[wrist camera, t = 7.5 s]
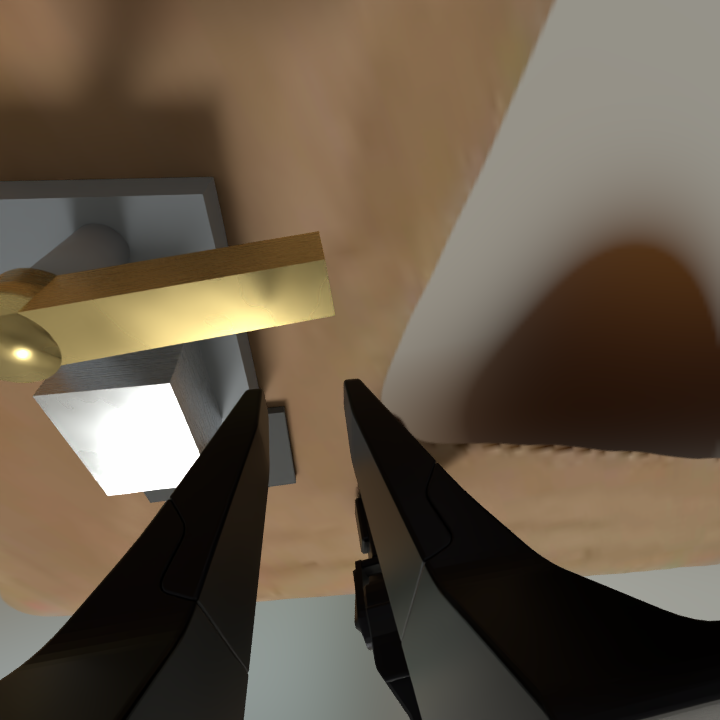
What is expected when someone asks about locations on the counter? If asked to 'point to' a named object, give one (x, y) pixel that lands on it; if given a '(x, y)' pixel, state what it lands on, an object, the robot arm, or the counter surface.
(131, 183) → the body
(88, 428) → the lever cap
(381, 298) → the counter surface
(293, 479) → the rubber mat
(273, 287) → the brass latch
